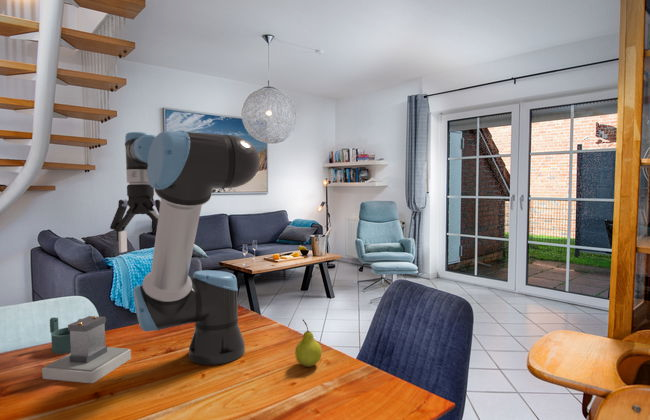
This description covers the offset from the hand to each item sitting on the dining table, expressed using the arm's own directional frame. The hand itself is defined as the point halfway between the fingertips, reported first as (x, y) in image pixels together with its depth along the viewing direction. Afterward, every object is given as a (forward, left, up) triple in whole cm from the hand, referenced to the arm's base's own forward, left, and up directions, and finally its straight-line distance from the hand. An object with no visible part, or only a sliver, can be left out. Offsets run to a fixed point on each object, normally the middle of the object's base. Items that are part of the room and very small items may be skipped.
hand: (142, 252), depth 123 cm
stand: (+1, +22, -27) cm, 35 cm away
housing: (+1, +22, -24) cm, 32 cm away
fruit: (-55, +11, -27) cm, 62 cm away
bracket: (+17, +11, -27) cm, 34 cm away
